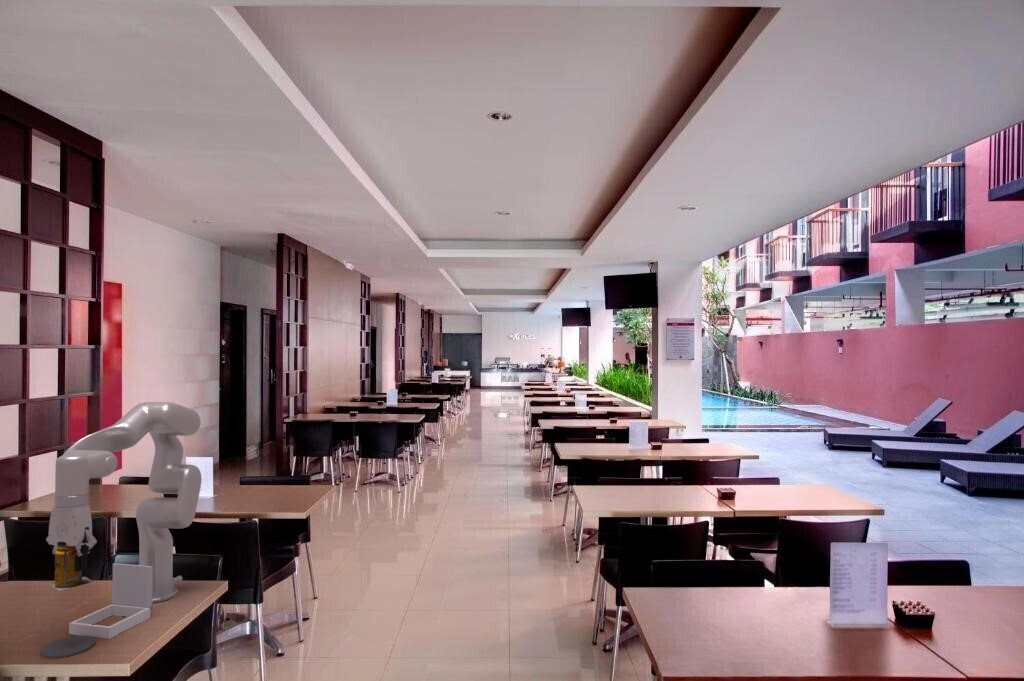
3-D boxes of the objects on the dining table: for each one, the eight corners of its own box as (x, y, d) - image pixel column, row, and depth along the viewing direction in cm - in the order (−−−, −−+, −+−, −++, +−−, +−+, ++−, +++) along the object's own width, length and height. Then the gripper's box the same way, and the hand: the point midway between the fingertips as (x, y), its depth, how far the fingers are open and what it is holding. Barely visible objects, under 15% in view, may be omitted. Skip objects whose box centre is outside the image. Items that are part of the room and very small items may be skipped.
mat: (70, 636, 183) (70, 633, 183) (106, 640, 180) (106, 637, 180) (29, 655, 172) (29, 652, 172) (66, 660, 169) (66, 657, 169)
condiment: (49, 585, 176) (49, 540, 176) (85, 577, 182) (85, 533, 183) (58, 591, 171) (59, 544, 172) (95, 582, 178) (96, 537, 178)
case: (114, 613, 200) (115, 563, 200) (152, 617, 197) (152, 566, 197) (69, 634, 185) (69, 580, 185) (109, 638, 182) (109, 583, 182)
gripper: (33, 502, 176) (31, 571, 175) (86, 505, 172) (85, 575, 171) (58, 497, 183) (57, 562, 183) (110, 499, 179) (109, 567, 179)
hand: (70, 568), depth 177 cm, fingers closed on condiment, 6 cm apart
